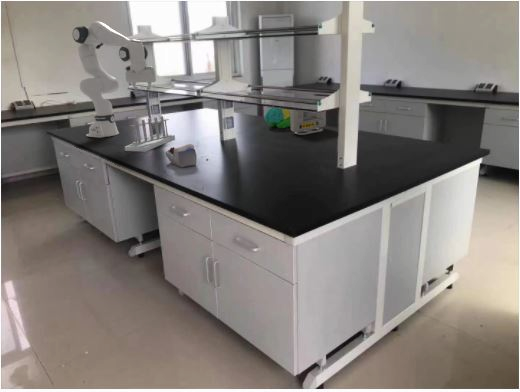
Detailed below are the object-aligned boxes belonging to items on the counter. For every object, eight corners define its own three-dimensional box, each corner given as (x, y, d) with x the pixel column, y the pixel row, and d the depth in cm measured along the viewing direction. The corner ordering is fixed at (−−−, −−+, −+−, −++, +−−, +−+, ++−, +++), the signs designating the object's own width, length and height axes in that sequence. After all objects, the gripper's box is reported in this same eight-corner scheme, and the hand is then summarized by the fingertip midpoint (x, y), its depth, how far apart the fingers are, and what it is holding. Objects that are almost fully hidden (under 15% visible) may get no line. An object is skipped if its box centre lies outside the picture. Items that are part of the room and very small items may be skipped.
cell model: (176, 148, 203) (162, 142, 219) (179, 170, 207) (165, 162, 223) (201, 143, 209) (185, 138, 225) (203, 165, 213) (188, 158, 229)
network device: (319, 127, 283) (319, 97, 276) (328, 129, 276) (328, 98, 269) (288, 133, 271) (287, 101, 264) (297, 135, 264) (296, 103, 257)
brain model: (276, 130, 279) (276, 107, 275) (258, 127, 294) (258, 105, 289) (302, 126, 293) (303, 104, 288) (284, 123, 307) (284, 102, 302)
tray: (125, 150, 251) (124, 146, 250) (156, 138, 280) (156, 134, 279) (145, 151, 246) (144, 147, 245) (175, 138, 275) (174, 134, 274)
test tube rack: (136, 144, 253) (132, 122, 249) (132, 143, 256) (129, 121, 252) (171, 136, 270) (168, 115, 265) (167, 135, 273) (164, 115, 268)
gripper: (156, 66, 265) (159, 89, 270) (128, 67, 272) (132, 89, 276) (150, 67, 259) (153, 90, 264) (122, 68, 266) (126, 90, 271)
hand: (142, 89), depth 270 cm, fingers open, 8 cm apart
